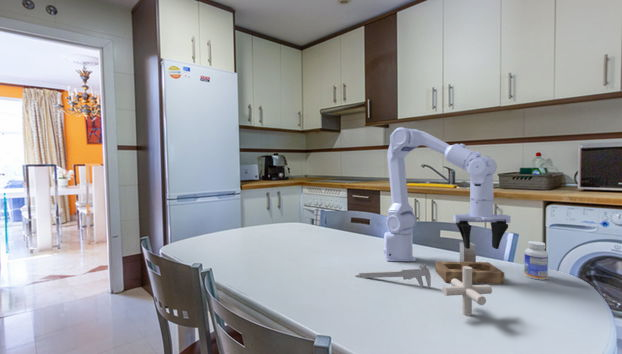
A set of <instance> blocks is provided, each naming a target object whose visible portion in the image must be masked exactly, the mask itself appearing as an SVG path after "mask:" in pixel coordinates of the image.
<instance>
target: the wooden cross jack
mask: <svg viewBox="0 0 622 354" xmlns="http://www.w3.org/2000/svg"><path fill="white" fill-rule="evenodd" d="M450 284H451V286H443V287H442V288H441V289H442V294H443V295H444V296H445V297H449V296H450V297H451V296H461V297H462V301H461V303H462V305H461V306H462V307H461V309H462V314H463V315H464V316H468V317H470V316H473V315H472V314H473V313H472V312H473V301H474V303H476V304H477V305H479V306H485V304H486V302H487V298H486V297H485V296H484V295H489V294H490V295H491V294H492V292H493V289H492V286H491V285H490V284H479V285H478V284H477V285H476V284H475V285H474V284H473V283H472V268H471V267H468V266H463V283H462V282H461V281H459V280H458V279H456V278H454V279H452V280H451V283H450Z"/></svg>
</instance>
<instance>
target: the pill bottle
mask: <svg viewBox="0 0 622 354" xmlns="http://www.w3.org/2000/svg"><path fill="white" fill-rule="evenodd" d="M527 247H528V248H525V249H524V260H523V261H524V263H523V264H524V265H523V267H524V268H523V270H524V273H523V274H524V276H525V277H527V278H530V279H532V278H533V280H538V279H539V280H541V281H543V280H544V281H546V280H547V279H548V276H549V275H548V274H549V273H548V271H549V253H548V251H546V243H545V242H542V241H536V240H529V241H528V242H527ZM539 280H538V281H539Z"/></svg>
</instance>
